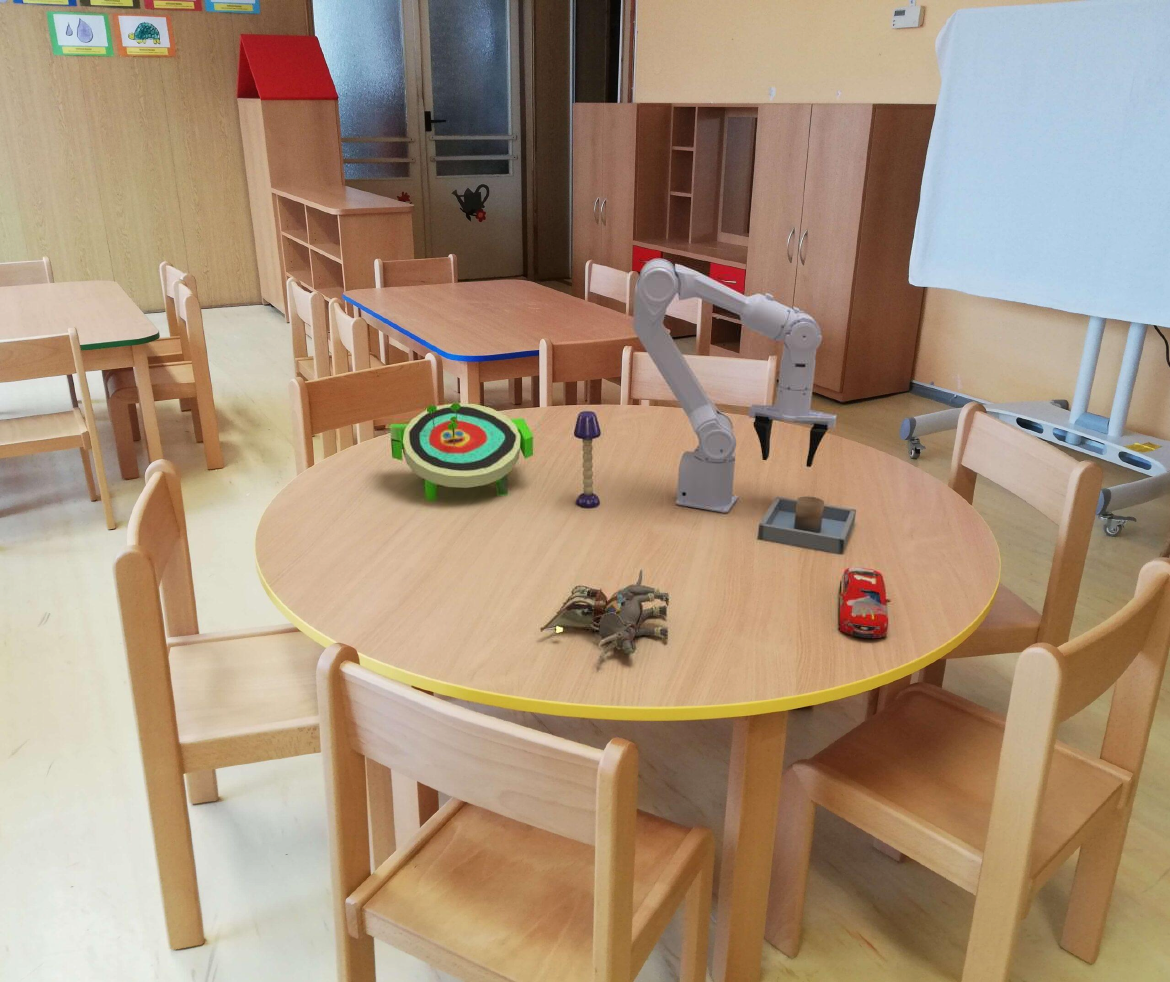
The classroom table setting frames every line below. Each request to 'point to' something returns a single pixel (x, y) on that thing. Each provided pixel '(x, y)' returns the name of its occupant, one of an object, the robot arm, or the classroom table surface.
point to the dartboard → (461, 446)
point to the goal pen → (830, 538)
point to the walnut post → (809, 514)
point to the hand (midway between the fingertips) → (787, 461)
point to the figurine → (611, 614)
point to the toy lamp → (587, 456)
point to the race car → (863, 603)
